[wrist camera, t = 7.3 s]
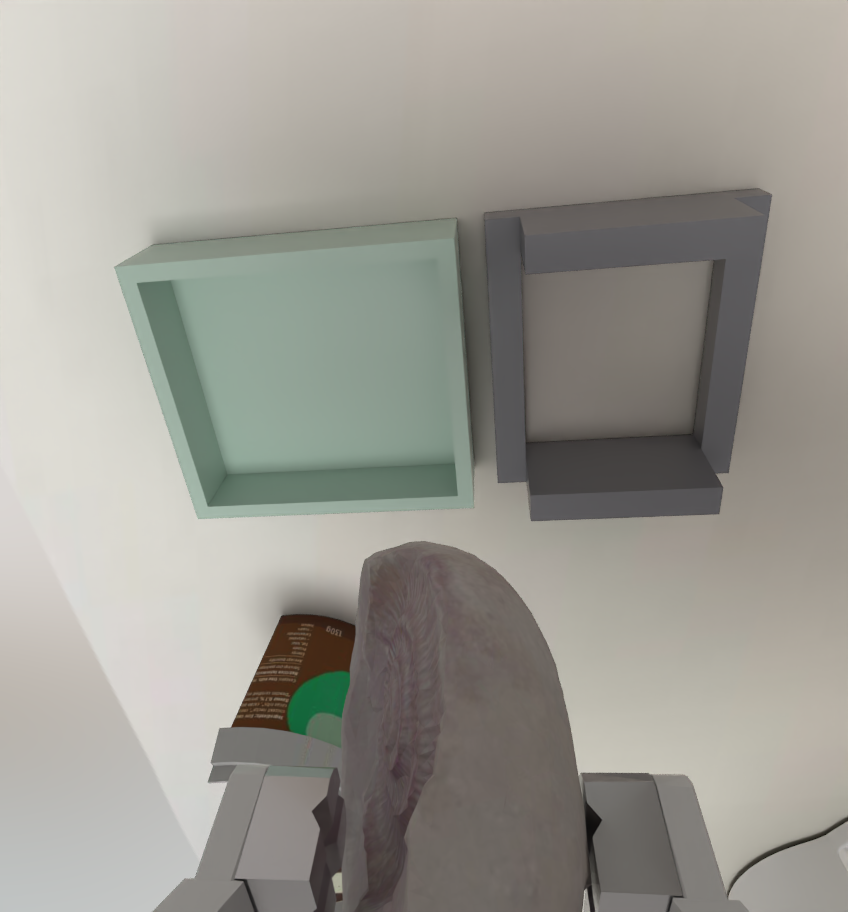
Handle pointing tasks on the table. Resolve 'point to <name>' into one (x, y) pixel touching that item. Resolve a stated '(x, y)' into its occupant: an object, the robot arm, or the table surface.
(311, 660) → the food container
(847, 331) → the table surface
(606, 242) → the holder
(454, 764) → the grey rounded lump
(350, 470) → the tray
